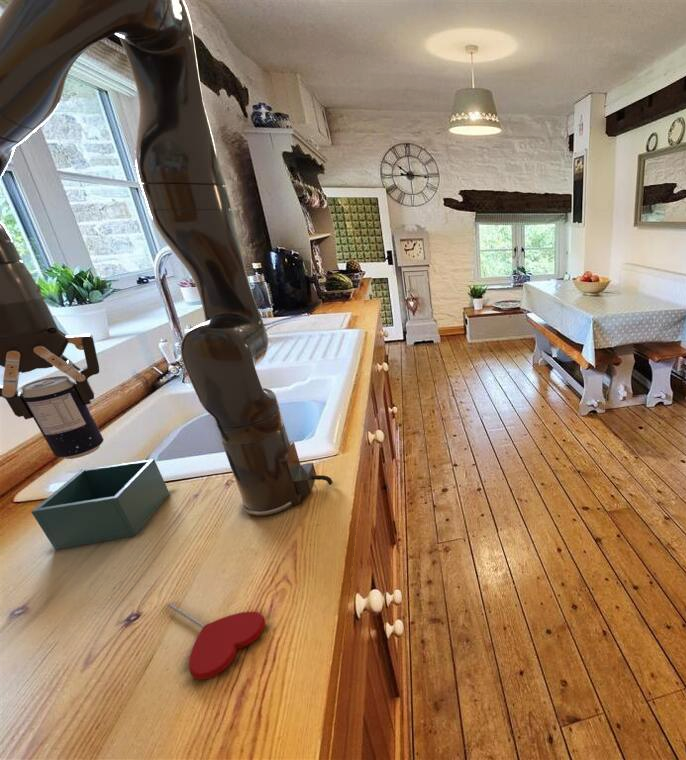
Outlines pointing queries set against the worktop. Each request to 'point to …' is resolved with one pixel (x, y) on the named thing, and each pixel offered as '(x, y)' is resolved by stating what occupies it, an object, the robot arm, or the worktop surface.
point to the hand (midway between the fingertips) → (59, 409)
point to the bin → (102, 504)
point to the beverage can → (62, 417)
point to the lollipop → (221, 641)
